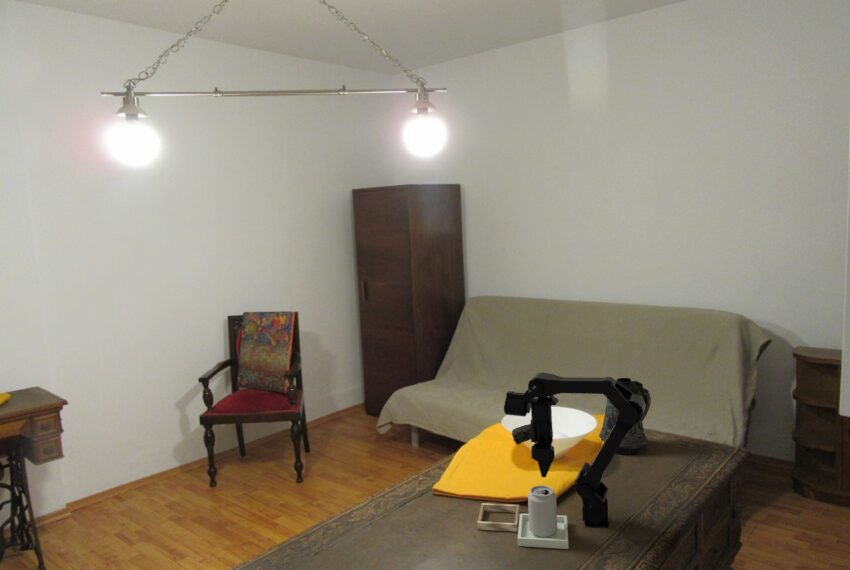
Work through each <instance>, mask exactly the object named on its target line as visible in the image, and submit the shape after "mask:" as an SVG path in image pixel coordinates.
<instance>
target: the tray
mask: <svg viewBox="0 0 850 570" xmlns="http://www.w3.org/2000/svg"><path fill="white" fill-rule="evenodd" d="M568 531H569V530H568V515H559V514H557V532H556V533H555V534H554V535H553V536H551V537H547V538H542V537H538V536H536V535H534V534H533V533H532V532H531V531H530V529H529V513H520V512H519V521H518V531H517V547H529V548H531V547H532V548H545V549H548V548H549V549H563V550H564V549H565V550H569V532H568Z"/></svg>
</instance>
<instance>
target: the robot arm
mask: <svg viewBox="0 0 850 570" xmlns="http://www.w3.org/2000/svg"><path fill="white" fill-rule="evenodd" d="M527 388H528V389H526V391H525V392H517V391H511V390H508V391H507V392H506V394H505V395H506V397H505V400H504V405H503V410H504V414H505V415H507V416H513V417H514V416H515V417H517V416H518V417H526V416H527V415H528V414H531V415H530V416H531V419H530V423H529V424H525V425H521V426H518V427H515V428H513V429H511V435H512V438H513V442H514V443H515V445H517V446H518V445H521V444H522V443H525V442H528V441H530V442H531V443H534V444H532V445H531V447H530V449H531V452H530V453H531V455H530V456H531V459H532V460H533V461H535V462H537V463H538V468H539V472H540V475H541V478H547V475H548V473H549V471H550V468H551V466H552V463H553V461H554V460H555V459H556V458H555V454H556V453H555V447H554V446H553V445H552V444H553V442H554V440H553V439H554V431H553V415H552V410H553V409H552V406H556V405H558V403H559V399H558V398H557V397H556V395H559V394H580V395H581V394H585V395H586V394H588V395H593V394H594V395H595V394H597V395H603V396H604V397H606V399H607V398H608V399H609V401H610V402H611V403H612V404H613V406H614V407H615V408H616V409H617V410H619V414H618V417H617V420H616V423H615V425H614V427H613V429H612V430H611V432H610V434H609V436H608V437H607V439H606V441H605V442H604V444H603V446H602V448H600V449H599V451H598V453H597V455H596V456H595V458H594V460H592V462H590V463H588V462H587V461H585V462H584V464H583V466H582V468H581V470H579V472H578V474H577V476H576V478H575V480H574V482H575V486H574V489H575V491H576V492H575V493H577V494H578V496H579V497H580V498H581V501H582V503H581V517H582V521H583V522H584V527H591V528H593V527H594V528H610V522H609V503H608V502H609V501H608V498H607V495H608V492H609V490H610V489H609V487H608V486H607V485H606V484H605V483H604V482H603V481H602V480H603V479H602V478H604V477H603V476H604V473H605V471H606V469H607V467H608V465H609V464H610V462H611V461H612V459H613V457H614V456H615V455H616V454H615V452H616V451H617V449H618V447H619V446H620V444H621V442H622V441H623V439H624V437H625V436H626V434H627V433H628V432H629V431H630V430H631V429H632V428H633V427H634V426H635V425H636V424H637V423H638V422H639V421H640V420H641V418H642V416H643V413H644V410H645V407H646V404H645V401H644V400H643V398H642V396H641V397H640V396H638V395H635V394H633V393H632V392H631V391H630V390H629V389H627V388H626V387H624V386H622V385H621V384H619V383H618V382H617V380H616V379H615V378H613V377H611V376H605V377H585V376H584V377H580V376H578V377H574V376H573V377H572V376H571V377H569V376H568V377H567V376H566V377H565V376H559V375H557V374H555V373H554V374H553V373H549V372H543V371H542V372H538V373H536V374H535V375H534V376H533V377H532V378H531V379H530V380H529V381H528V383H527Z"/></svg>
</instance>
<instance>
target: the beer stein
mask: <svg viewBox="0 0 850 570" xmlns="http://www.w3.org/2000/svg"><path fill="white" fill-rule="evenodd" d="M616 381H617V382H618V383H619V384H621V385H622V386H624V387H626V388H627V389H629V390H630V391H631V392H632V393H633V394H635V395H638V396H640V397H642V398H643V400H644V401H645V404H646V407H645V410H644V413H643V416H642V418H641V420H640V421H639V422H638V423H637V424H636V425H635V426H634V427H633V428H632V429H631V430H630V431H629V432H628V433H627V434H626V436H625V437H624V439H623V441H622V442H621V444H620V446H619V447H618V449H617V451H616V452H615V454H614V455H618V456H619V455H620V456H636V455H639V454H641V453H644V452H645V450H646V447H647V444H648V439H647V436H646V433H645V431H644V424H643V421H644V420H645V418H646V416H647V414H648V413H649V410H650V407H651V402H652V401H651V399H652V398H651V394H650V393H649V390H648V389H646V388H644V384H643V383H642V382H639V381H638V380H632V379H631V378H629V377H619V378H617V379H616ZM618 414H619V410H617V409H616V408H615V407H614V406H613V404H612V403H611V402H610V401H609V399H608V398H607V397H606V405H605V410H604V417H603V421H602V426H601V430H600V432H599V435H598V438H599V437H600V438H601V440H602V441H604V442H605V441H606V439H607V437H608V436H609V434H610V432H611V430H612V429H613V427H614V425H615V423H616V420H617V417H618Z"/></svg>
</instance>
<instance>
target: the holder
mask: <svg viewBox="0 0 850 570" xmlns="http://www.w3.org/2000/svg"><path fill="white" fill-rule="evenodd" d="M485 512H494V513H495V512H496V513H515V516H514V522H500V521H499V522H498V521H483V518H484V515H485ZM519 517H520V504H506V503H505V504H504V503H488V502H487V503H485V502H483V503H481V505H480V509H479V513H478V517H477V521H476V528H477V529H476V530H480V531H481V530H482V531H496V532H497V531H501V532H515V533H518V528H519Z"/></svg>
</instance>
